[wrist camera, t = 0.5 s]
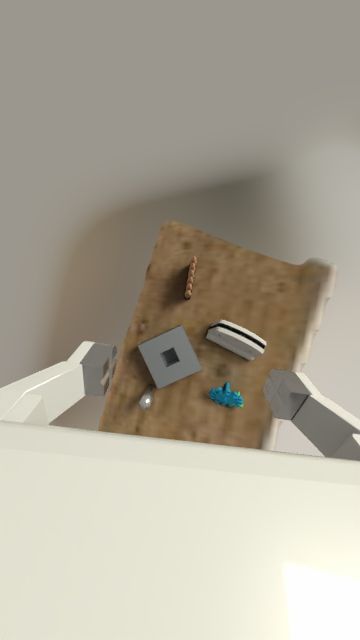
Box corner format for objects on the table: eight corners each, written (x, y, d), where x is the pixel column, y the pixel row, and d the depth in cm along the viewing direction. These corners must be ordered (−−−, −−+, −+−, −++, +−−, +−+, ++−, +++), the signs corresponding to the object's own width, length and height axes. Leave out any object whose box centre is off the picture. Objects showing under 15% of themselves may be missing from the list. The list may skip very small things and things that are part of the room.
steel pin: (157, 391, 61) (151, 407, 51) (148, 395, 61) (142, 411, 51) (153, 383, 61) (147, 397, 51) (144, 387, 61) (137, 401, 51)
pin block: (200, 363, 60) (201, 369, 54) (160, 381, 61) (158, 389, 55) (181, 324, 60) (181, 325, 54) (142, 342, 61) (137, 345, 55)
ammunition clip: (189, 264, 59) (191, 252, 47) (195, 265, 59) (198, 253, 47) (184, 298, 60) (184, 294, 48) (189, 299, 60) (191, 295, 48)
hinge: (204, 337, 60) (213, 330, 51) (210, 324, 62) (220, 315, 52) (250, 361, 60) (269, 359, 51) (255, 347, 61) (274, 343, 52)
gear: (202, 396, 59) (222, 388, 52) (206, 379, 63) (225, 370, 56) (229, 412, 61) (252, 407, 53) (232, 395, 65) (254, 388, 57)
